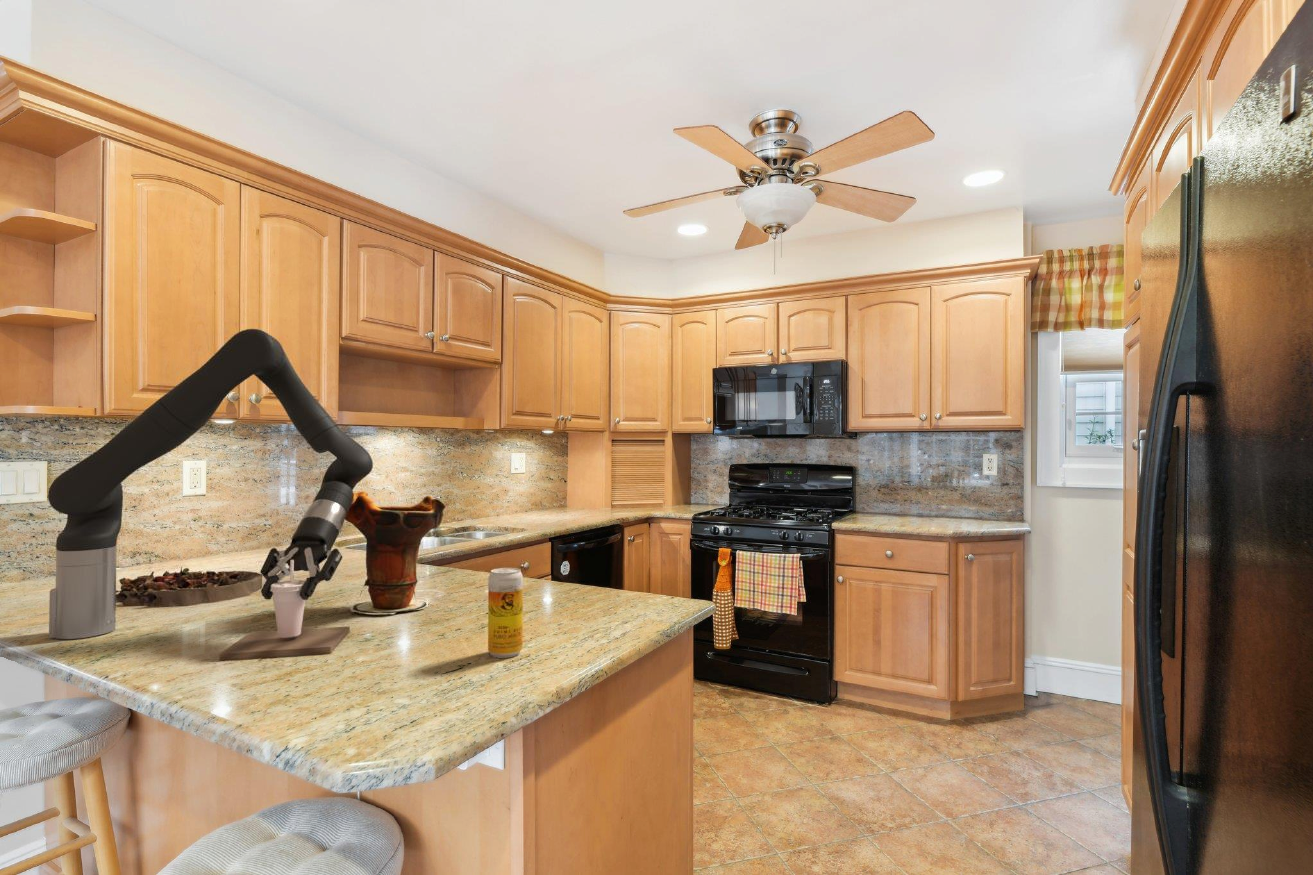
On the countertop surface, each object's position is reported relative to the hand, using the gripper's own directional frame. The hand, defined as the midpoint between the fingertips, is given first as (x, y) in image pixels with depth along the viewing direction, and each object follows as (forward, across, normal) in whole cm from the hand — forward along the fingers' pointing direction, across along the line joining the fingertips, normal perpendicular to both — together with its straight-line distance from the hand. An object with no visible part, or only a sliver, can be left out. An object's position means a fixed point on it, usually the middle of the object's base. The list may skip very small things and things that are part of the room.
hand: (284, 597), depth 121 cm
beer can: (+8, +42, +6) cm, 43 cm away
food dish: (-25, -54, +39) cm, 71 cm away
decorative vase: (-16, +6, +30) cm, 34 cm away
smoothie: (+4, 0, +7) cm, 8 cm away
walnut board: (+6, 0, +8) cm, 10 cm away
